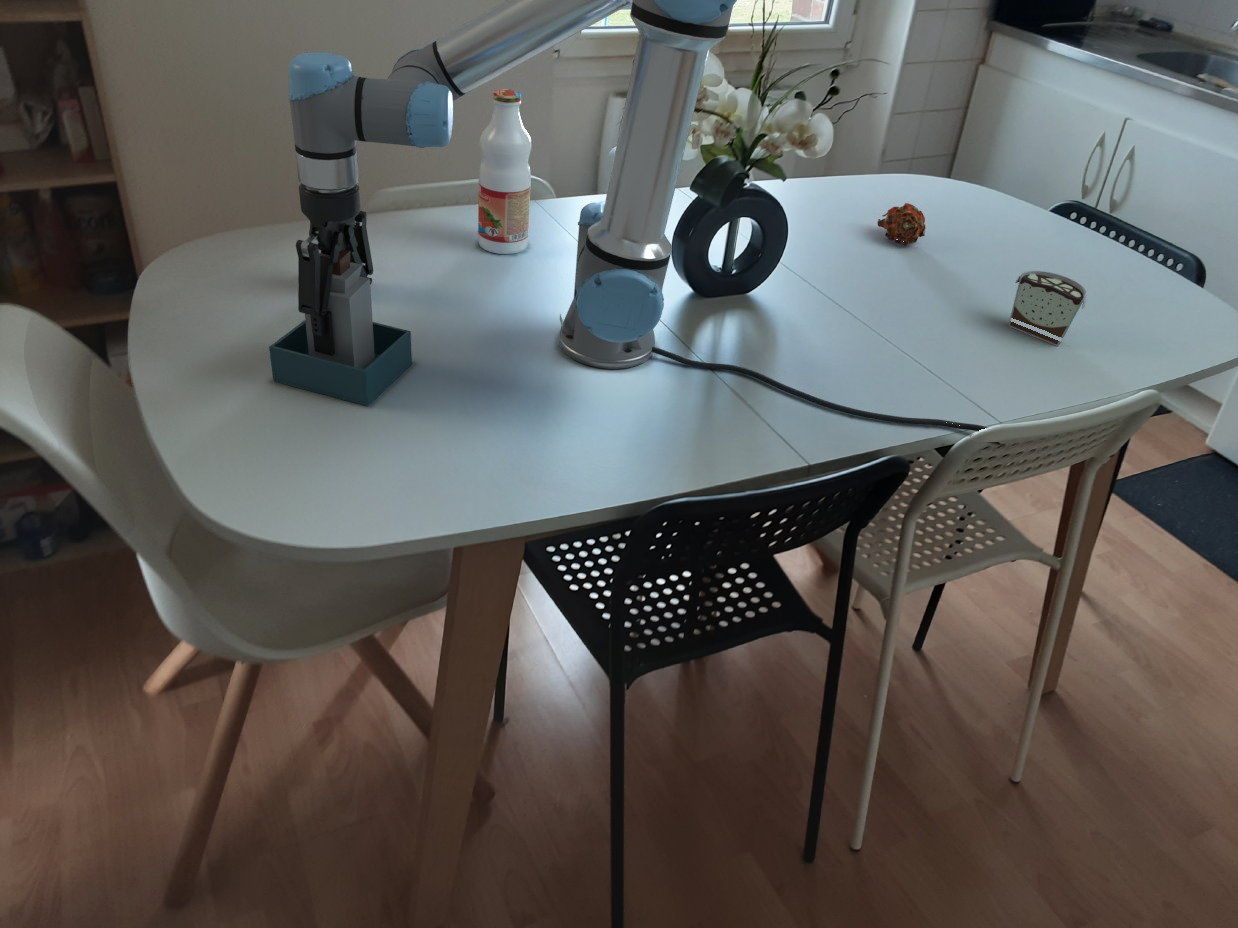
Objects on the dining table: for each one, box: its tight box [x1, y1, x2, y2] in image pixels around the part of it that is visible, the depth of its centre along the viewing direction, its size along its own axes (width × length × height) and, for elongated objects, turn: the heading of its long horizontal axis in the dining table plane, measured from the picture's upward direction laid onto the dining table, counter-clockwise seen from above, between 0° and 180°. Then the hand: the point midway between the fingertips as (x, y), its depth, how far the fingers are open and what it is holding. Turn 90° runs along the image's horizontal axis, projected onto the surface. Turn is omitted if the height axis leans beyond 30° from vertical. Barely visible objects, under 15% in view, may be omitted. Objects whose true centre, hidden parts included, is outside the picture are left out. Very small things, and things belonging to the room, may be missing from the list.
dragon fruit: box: [877, 202, 926, 246], centre depth 202 cm, size 8×8×12 cm
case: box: [268, 319, 413, 407], centre depth 140 cm, size 15×13×6 cm
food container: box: [1007, 270, 1088, 347], centre depth 172 cm, size 12×6×10 cm, turn 47°
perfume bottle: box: [304, 250, 375, 369], centre depth 136 cm, size 7×7×18 cm
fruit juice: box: [477, 88, 532, 255], centre depth 175 cm, size 9×9×28 cm
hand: (341, 338), depth 138 cm, fingers open, 8 cm apart
